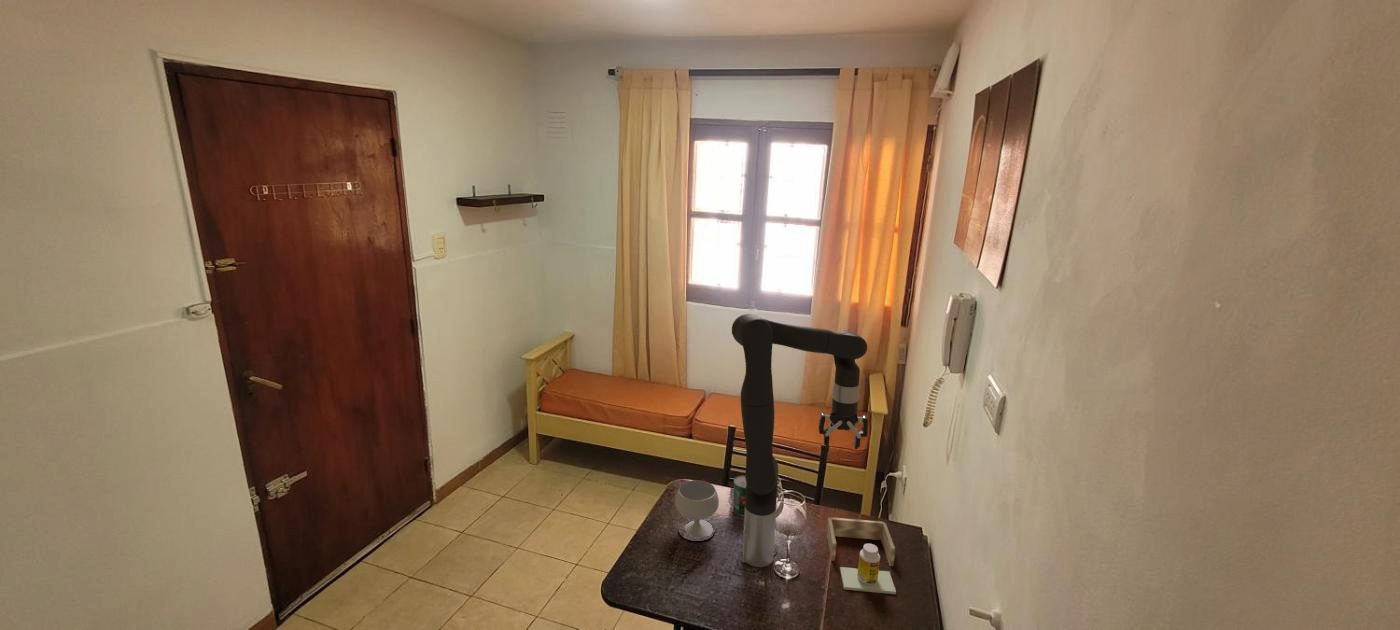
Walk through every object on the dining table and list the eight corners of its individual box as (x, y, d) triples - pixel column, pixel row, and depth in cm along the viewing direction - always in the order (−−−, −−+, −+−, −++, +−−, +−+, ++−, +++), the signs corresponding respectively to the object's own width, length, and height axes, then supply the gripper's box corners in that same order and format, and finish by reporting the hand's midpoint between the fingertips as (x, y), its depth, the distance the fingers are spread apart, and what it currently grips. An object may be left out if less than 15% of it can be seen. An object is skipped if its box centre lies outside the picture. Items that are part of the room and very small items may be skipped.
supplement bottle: (868, 588, 145) (871, 557, 143) (852, 576, 150) (856, 545, 147) (881, 581, 148) (885, 550, 146) (866, 569, 153) (869, 538, 150)
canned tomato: (740, 500, 187) (741, 472, 185) (759, 508, 183) (761, 480, 180) (728, 511, 181) (729, 482, 179) (748, 519, 177) (749, 490, 174)
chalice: (718, 545, 163) (719, 502, 160) (673, 544, 163) (673, 501, 160) (717, 518, 177) (718, 478, 174) (676, 517, 177) (676, 477, 174)
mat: (844, 589, 146) (844, 586, 146) (839, 569, 154) (840, 566, 154) (895, 594, 144) (896, 591, 144) (889, 573, 152) (889, 571, 152)
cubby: (831, 560, 157) (832, 543, 156) (826, 533, 170) (827, 517, 169) (893, 566, 155) (895, 548, 154) (883, 538, 168) (885, 521, 167)
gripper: (822, 400, 153) (818, 451, 157) (872, 403, 152) (867, 454, 156) (819, 391, 161) (816, 440, 164) (867, 394, 159) (862, 443, 163)
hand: (841, 447), depth 160 cm, fingers open, 8 cm apart
